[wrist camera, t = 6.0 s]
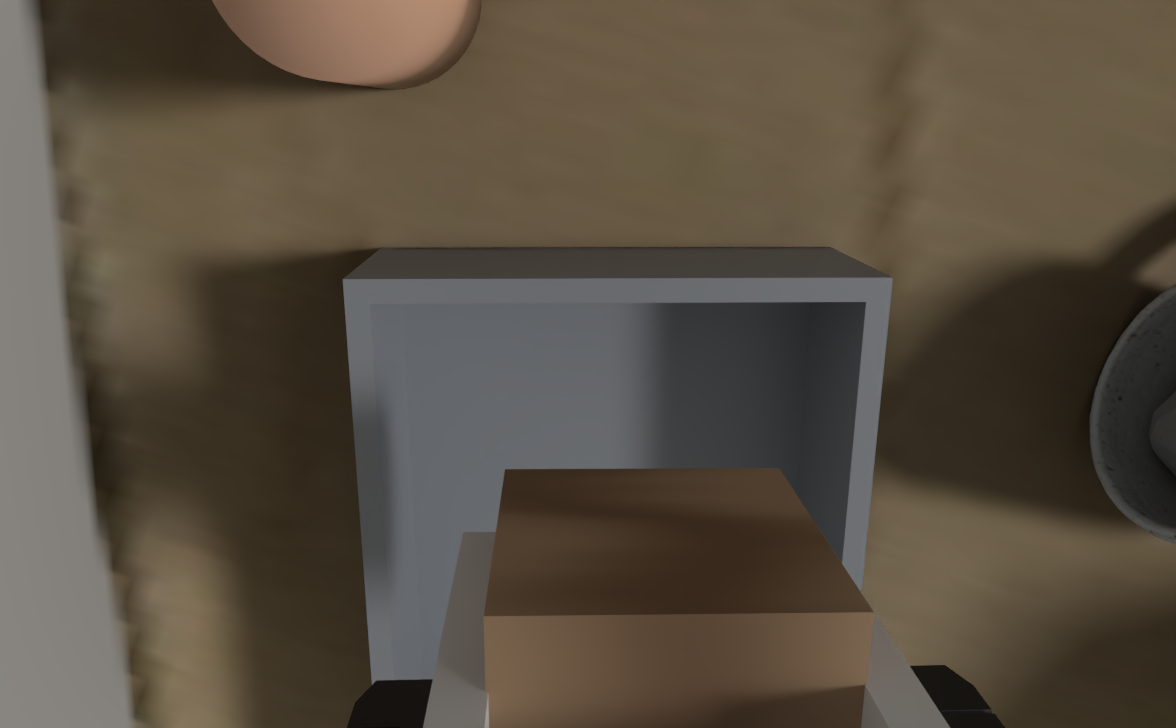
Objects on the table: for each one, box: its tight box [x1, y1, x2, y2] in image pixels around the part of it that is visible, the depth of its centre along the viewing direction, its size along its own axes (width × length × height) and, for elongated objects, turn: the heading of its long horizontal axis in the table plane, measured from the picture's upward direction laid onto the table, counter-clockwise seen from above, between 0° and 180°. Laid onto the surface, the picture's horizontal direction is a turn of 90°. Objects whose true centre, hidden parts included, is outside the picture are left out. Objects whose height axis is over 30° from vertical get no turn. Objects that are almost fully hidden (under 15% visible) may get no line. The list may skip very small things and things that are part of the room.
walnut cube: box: [484, 468, 874, 728], centre depth 14 cm, size 5×5×5 cm
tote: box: [343, 247, 893, 685], centre depth 26 cm, size 17×13×5 cm
